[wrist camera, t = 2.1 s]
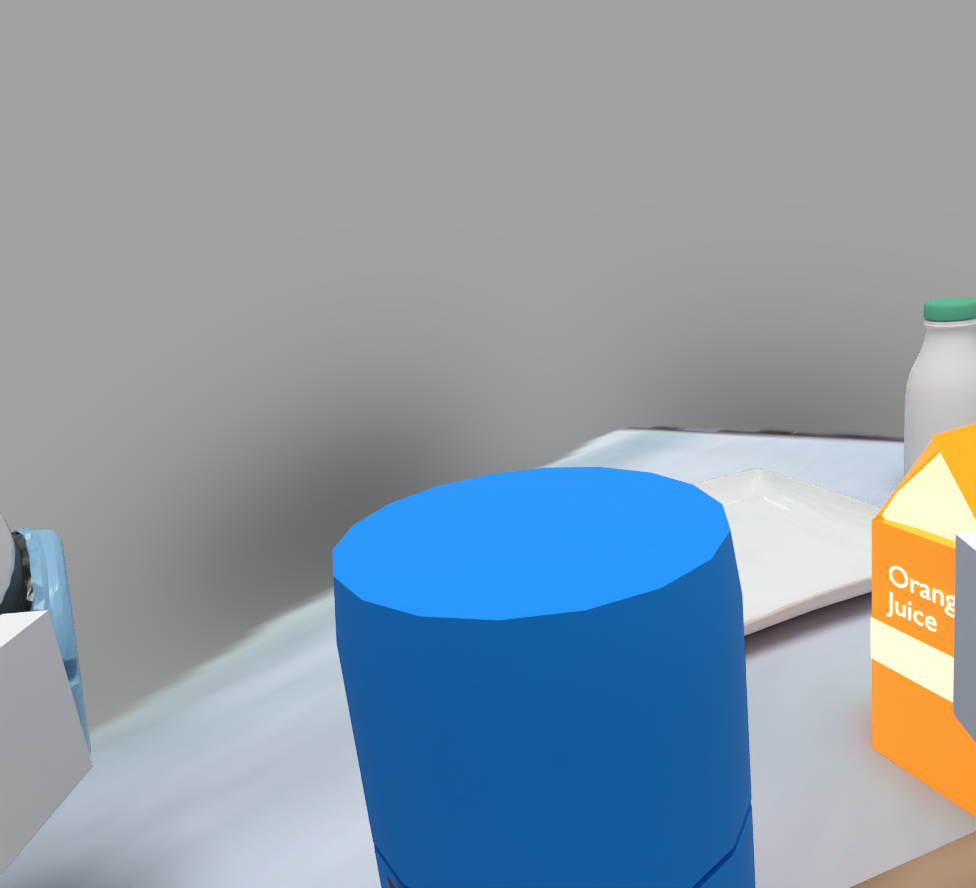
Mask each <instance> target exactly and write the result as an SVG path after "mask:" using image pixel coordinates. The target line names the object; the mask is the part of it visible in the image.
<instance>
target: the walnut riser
mask: <svg viewBox="0 0 976 888" xmlns="http://www.w3.org/2000/svg"><path fill="white" fill-rule="evenodd" d="M851 888H976V831H975V832H973V833H971V834H969V835H966V836H964V837H962V838H960V839H957V840H955V841H953V842H951V843H949V844H946V845H944V846H942V847H940V848H937V849H935V850H933V851H931V852H928V853H926V854H924V855H922V856H920V857H917V858H915V859H913V860H911V861H908V862H906V863H904V864H902V865H900V866H897V867H895V868H893V869H891V870H888V871H886V872H884V873H882V874H880V875H877V876H875V877H873V878H871V879H868V880H866V881H864V882H862V883H859V884H857V885H855V886H853V887H851Z"/></svg>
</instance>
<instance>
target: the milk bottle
mask: <svg viewBox="0 0 976 888" xmlns="http://www.w3.org/2000/svg"><path fill="white" fill-rule="evenodd" d="M924 319H925V320H924V325H925V326H926V337H925V340H924V343H923V347H922V349H921V351H920V354H919V356H918V358H917V360H916V362H915V363H914V365H913V367H912V370H911V372H910V375H909V378H908V382H907V387H906V397H905V430H904V432H905V433H904V478H905V476H906V475H907V474H908V472H909V471H910V470H911V468H912V467H913V466H914V464H915V463H916V462H917V460H918V459H919V458H920V456H921V455H922V453H923V452H924V451H925V449H926V448H927V447H928V445H929V444H930V443H931V441H932V440H933V438H932V436H933V435H936V434H940V433H943V432H947V431H951V430H954V429H958V428H961V427H965V426H968V425H972V424H975V423H976V299H975V298H968V297H954V298H941V299H935V300H930V301H928V302H926V303H925V305H924Z"/></svg>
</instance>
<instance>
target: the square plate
mask: <svg viewBox="0 0 976 888" xmlns="http://www.w3.org/2000/svg"><path fill="white" fill-rule="evenodd" d="M692 485H695V486H696V487H698V488H699V489H701V490H702V491H704V492H705V493H706V494H708V495H709V496H711V497H712V498H714V499H715V500H717V501H718V502H720V503H721V504H723V507H724V510H725V513H726V517H727V520H728V523H729V526H730V530H731V535H732V540H733V546H734V551H735V557H736V562H737V568H738V573H739V579H740V584H741V590H742V595H743V617H744V636H746V635H748V634H751V633H754V632H756V631H759V630H762V629H764V628H767V627H769V626H772V625H775V624H777V623H780V622H783V621H785V620H788V619H791V618H794V617H796V616H799V615H802V614H805V613H807V612H810V611H813V610H816V609H819V608H822V607H825V606H828V605H831V604H834V603H837V602H840V601H843V600H847V599H850V598H853V597H856V596H860V595H863V594H866V593H869V592H872V523H871V522H872V518H875V517H876V516H877V514H878V513H879V512H880V510H881V509H882V508H879V507H876V506H873V505H870V504H868V503H865V502H862V501H860V500H857V499H854V498H851V497H848V496H845V495H842V494H840V493H837V492H834V491H831V490H828V489H825V488H822V487H819V486H816V485H813V484H810V483H807V482H803V481H800V480H797V479H794V478H791V477H788V476H784V475H781V474H778V473H775V472H772V471H768V470H765V469H761V468H756V469H750V470H746V471H742V472H738V473H735V474H731V475H727V476H723V477H719V478H714V479H710V480H706V481H701V482H697V483H693V484H692Z"/></svg>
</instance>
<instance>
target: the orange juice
mask: <svg viewBox="0 0 976 888" xmlns="http://www.w3.org/2000/svg"><path fill="white" fill-rule="evenodd" d="M932 438H933V440H932V441H931V443H930V444H929V445H928V447H927V448H926V449H925V451H924V452H923V453H922V455H921V456H920V458H919V459H918V460H917V462H916V463H915V464H914V466H913V467H912V468H911V470H910V471H909V472H908V474H907V475H906V476H905V478H904V479H903V481H902V482H901V483H900V485H899V486H898V487H897V489H896V490H895V491H894V493H893V494H892V495H891V497H890V498H889V499H888V501H887V502H886V504H885V505H884V506H883V508H882V509H881V510H880V512H879V513H878V514H877V516H876V517H875V518H872V522H871V523H872V617H871V658H872V748H873V749H875V750H876V751H878V752H879V753H881V754H882V755H884V756H885V757H887V758H888V759H890V760H891V761H893V762H894V763H896V764H897V765H899V766H900V767H902V768H903V769H905V770H906V771H908V772H909V773H911V774H912V775H914V776H915V777H917V778H918V779H920V780H921V781H923V782H924V783H926V784H927V785H929V786H930V787H932V788H933V789H935V790H936V791H938V792H939V793H941V794H942V795H944V796H945V797H947V798H948V799H950V800H951V801H953V802H954V803H955V804H957V805H958V806H960V807H961V808H963V809H964V810H966V811H967V812H969V813H970V814H972V815H973V816H975V817H976V743H975V742H974V741H973V739H972V738H971V737H970V735H969V734H968V733H967V732H966V730H965V729H964V728H963V726H962V725H961V724H960V722H959V721H958V720H957V719H956V717H955V716H954V715H953V674H954V603H955V534H960V533H972V532H976V423H975V424H972V425H968V426H965V427H961V428H958V429H954V430H951V431H947V432H943V433H940V434H936V435H933V436H932Z"/></svg>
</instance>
